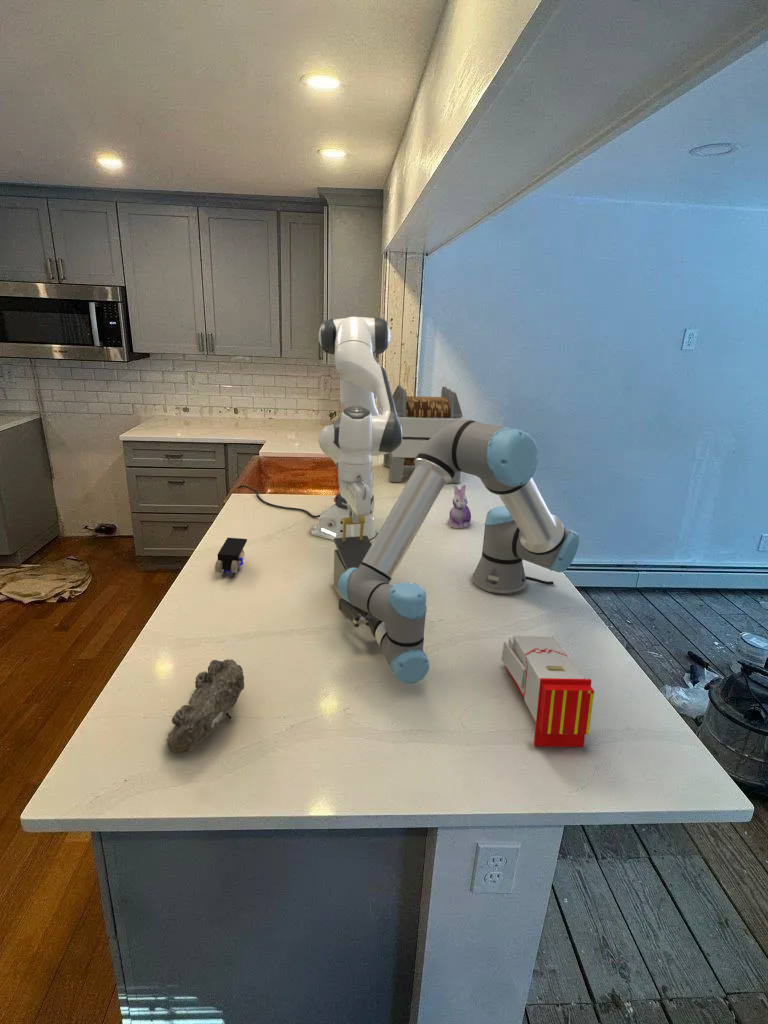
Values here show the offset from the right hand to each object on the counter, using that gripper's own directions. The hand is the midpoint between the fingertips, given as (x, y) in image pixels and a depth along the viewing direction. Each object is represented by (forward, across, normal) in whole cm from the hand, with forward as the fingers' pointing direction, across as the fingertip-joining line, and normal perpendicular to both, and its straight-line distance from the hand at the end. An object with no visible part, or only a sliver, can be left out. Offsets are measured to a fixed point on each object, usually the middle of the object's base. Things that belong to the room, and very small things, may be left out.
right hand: (363, 586), depth 147 cm
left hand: (+12, 0, +14) cm, 18 cm away
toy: (-45, +25, -6) cm, 52 cm away
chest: (+5, 0, -6) cm, 8 cm away
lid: (+6, 0, +6) cm, 8 cm away
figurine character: (+31, -32, -6) cm, 45 cm away
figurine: (+52, +51, -6) cm, 73 cm away
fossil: (-34, -39, -6) cm, 52 cm away
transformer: (+120, +61, -6) cm, 135 cm away
